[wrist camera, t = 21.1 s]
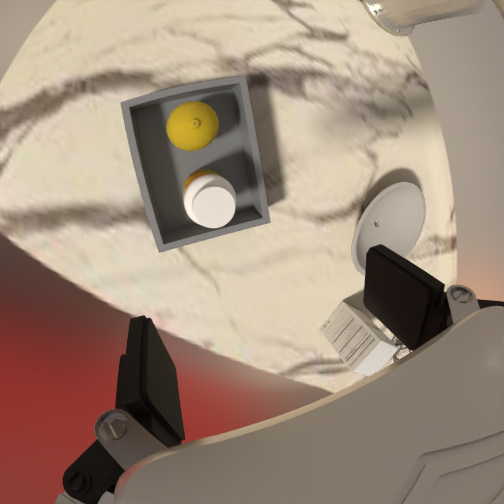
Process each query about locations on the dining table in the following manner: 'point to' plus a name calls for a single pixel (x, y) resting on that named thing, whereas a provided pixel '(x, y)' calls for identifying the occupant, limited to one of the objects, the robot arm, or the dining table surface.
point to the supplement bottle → (209, 198)
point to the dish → (390, 222)
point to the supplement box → (358, 340)
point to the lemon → (192, 126)
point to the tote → (195, 159)
